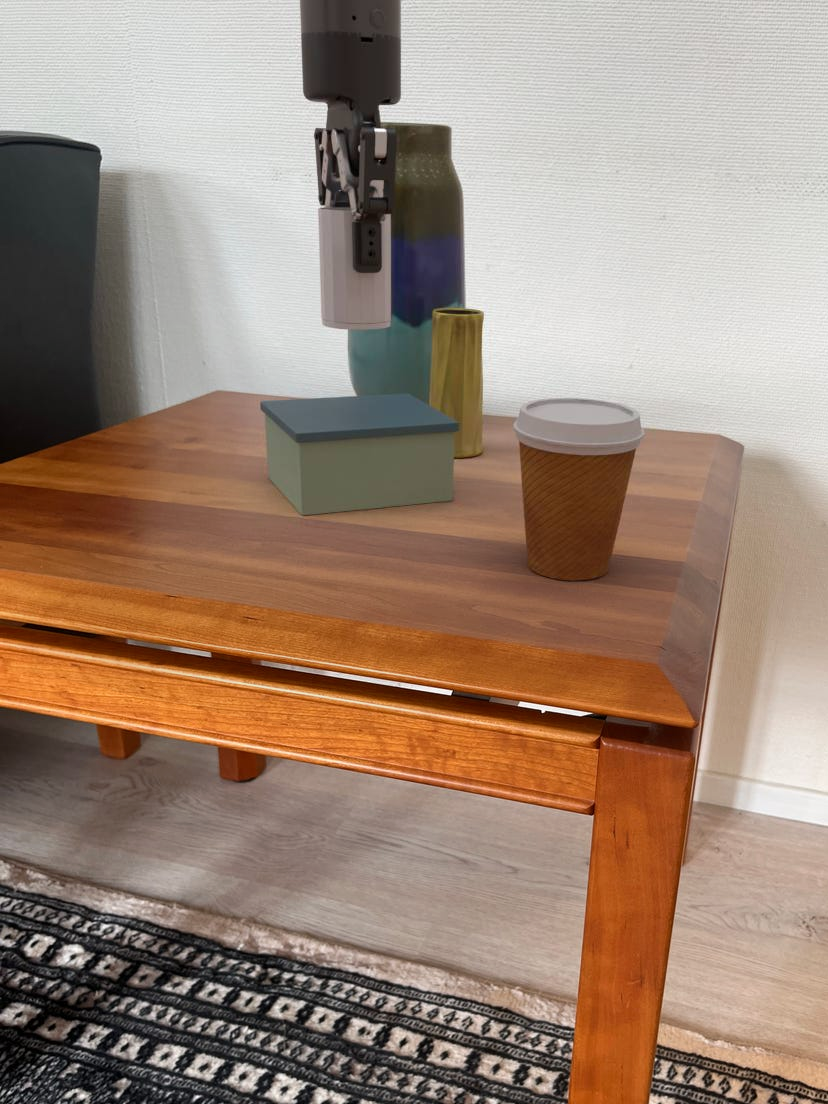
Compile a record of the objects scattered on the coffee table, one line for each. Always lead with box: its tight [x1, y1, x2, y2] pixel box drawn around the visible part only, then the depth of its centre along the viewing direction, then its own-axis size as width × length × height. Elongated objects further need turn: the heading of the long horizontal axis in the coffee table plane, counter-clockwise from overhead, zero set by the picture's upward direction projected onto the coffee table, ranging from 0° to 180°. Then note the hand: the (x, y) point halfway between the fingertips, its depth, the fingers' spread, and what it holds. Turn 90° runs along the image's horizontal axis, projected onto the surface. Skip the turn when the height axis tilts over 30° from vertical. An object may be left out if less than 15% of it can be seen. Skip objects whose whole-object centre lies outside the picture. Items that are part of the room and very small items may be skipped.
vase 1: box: [347, 121, 467, 405], centre depth 116 cm, size 14×14×31 cm
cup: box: [317, 206, 392, 331], centre depth 84 cm, size 6×6×9 cm
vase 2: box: [429, 307, 485, 459], centre depth 105 cm, size 6×6×14 cm
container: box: [259, 393, 459, 517], centre depth 93 cm, size 15×13×7 cm
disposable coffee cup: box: [512, 397, 646, 581], centre depth 76 cm, size 10×10×12 cm
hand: (355, 267), depth 84 cm, fingers closed on cup, 6 cm apart
